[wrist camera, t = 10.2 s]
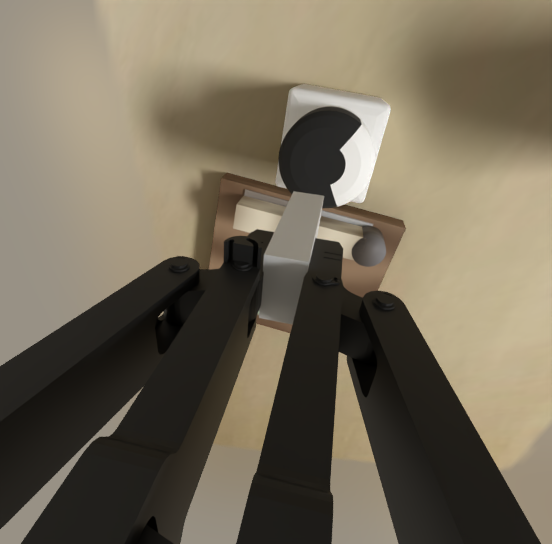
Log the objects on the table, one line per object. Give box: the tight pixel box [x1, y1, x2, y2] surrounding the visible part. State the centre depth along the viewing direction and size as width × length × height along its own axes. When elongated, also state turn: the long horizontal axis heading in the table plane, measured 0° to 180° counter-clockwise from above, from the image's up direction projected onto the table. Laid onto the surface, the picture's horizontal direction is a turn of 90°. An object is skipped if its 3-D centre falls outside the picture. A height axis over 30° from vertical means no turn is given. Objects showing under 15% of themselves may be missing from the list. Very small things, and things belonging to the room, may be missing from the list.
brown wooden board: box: [209, 173, 406, 333], centre depth 38 cm, size 16×18×2 cm
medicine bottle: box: [275, 84, 391, 208], centre depth 27 cm, size 7×7×12 cm
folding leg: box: [233, 196, 386, 267], centre depth 33 cm, size 14×3×2 cm, turn 78°
